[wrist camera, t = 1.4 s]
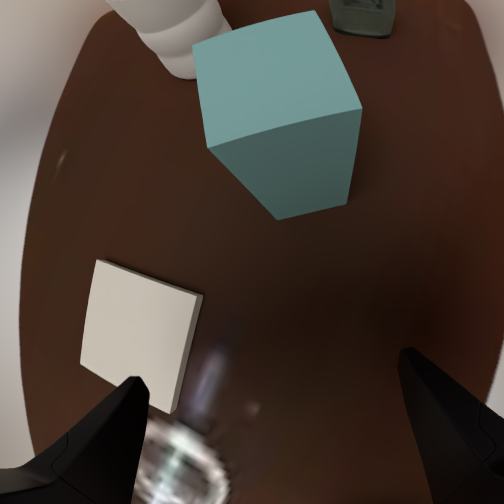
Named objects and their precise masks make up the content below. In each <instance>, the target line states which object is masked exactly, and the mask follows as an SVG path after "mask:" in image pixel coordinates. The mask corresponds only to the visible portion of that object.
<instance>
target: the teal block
mask: <svg viewBox="0 0 504 504" xmlns="http://www.w3.org/2000/svg"><path fill="white" fill-rule="evenodd" d="M192 49H193V56H194V63H195V70H196V77H197V84H198V91H199V97H200V104H201V110H202V117H203V123H204V129H205V136H206V142H207V148H208V149H209V150H210V151H211V152H212V153H213V154H214V155H215V156H216V157H217V158H218V159H219V160H220V161H221V162H222V163H223V164H224V165H225V166H226V167H227V168H228V169H229V170H230V171H231V172H232V173H233V175H234V176H235V177H236V178H237V179H238V180H239V181H240V182H241V183H242V184H243V185H244V186H245V187H246V188H247V189H248V190H249V191H250V192H251V193H252V194H253V195H254V196H255V197H256V198H257V199H258V200H259V201H260V202H261V204H262V205H263V206H264V207H265V208H266V209H267V210H268V211H269V212H270V213H271V214H272V215H273V216H274V217H275V218H276V219H277V220H281V219H285V218H289V217H294V216H298V215H302V214H306V213H310V212H315V211H319V210H323V209H328V208H332V207H336V206H341V205H345V204H346V203H347V198H348V193H349V188H350V183H351V177H352V172H353V166H354V160H355V154H356V148H357V142H358V136H359V129H360V123H361V116H362V106H361V103H360V101H359V99H358V96H357V94H356V92H355V89H354V87H353V85H352V83H351V80H350V78H349V76H348V74H347V72H346V70H345V67H344V65H343V63H342V61H341V59H340V57H339V55H338V53H337V51H336V49H335V47H334V45H333V43H332V41H331V39H330V37H329V35H328V34H327V32H326V30H325V28H324V26H323V24H322V23H321V21H320V19H319V17H318V15H317V14H316V12H315V10H314V11H308V12H303V13H298V14H293V15H289V16H284V17H280V18H276V19H272V20H268V21H264V22H260V23H257V24H253V25H250V26H246V27H243V28H240V29H236V30H233V31H230V32H227V33H224V34H221V35H218V36H215V37H212V38H210V39H207V40H204V41H201V42H199V43H196V44H194V45H192Z"/></svg>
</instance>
